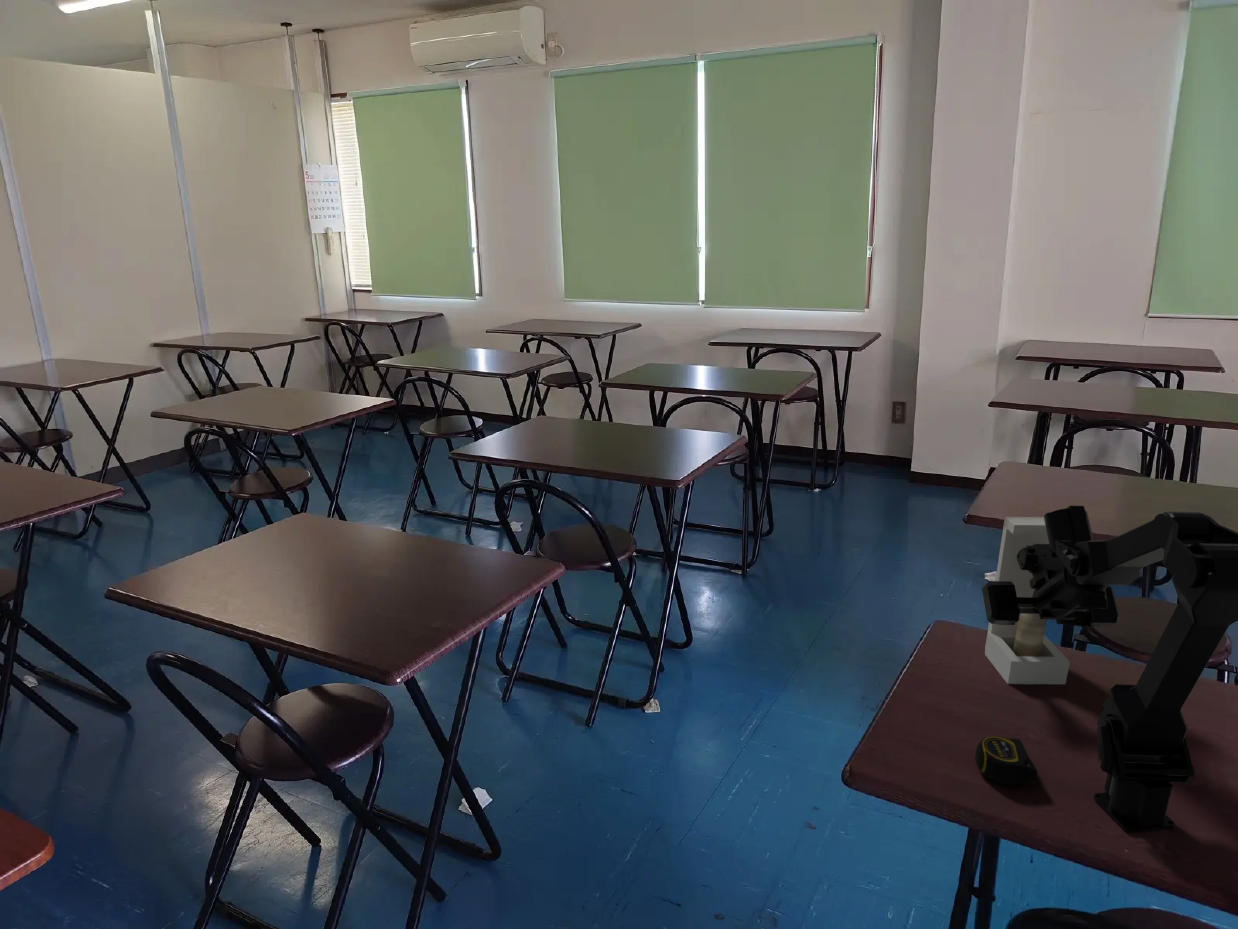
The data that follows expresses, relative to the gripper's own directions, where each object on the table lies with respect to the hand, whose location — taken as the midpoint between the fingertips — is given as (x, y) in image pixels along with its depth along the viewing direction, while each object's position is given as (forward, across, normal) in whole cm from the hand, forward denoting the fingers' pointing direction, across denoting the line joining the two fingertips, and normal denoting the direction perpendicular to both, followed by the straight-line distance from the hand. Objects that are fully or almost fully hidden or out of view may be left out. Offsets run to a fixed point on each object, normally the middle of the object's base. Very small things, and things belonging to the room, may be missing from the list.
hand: (1027, 620), depth 137 cm
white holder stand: (+5, 0, +7) cm, 8 cm away
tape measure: (-13, +13, +25) cm, 31 cm away
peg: (+5, 0, +7) cm, 8 cm away
